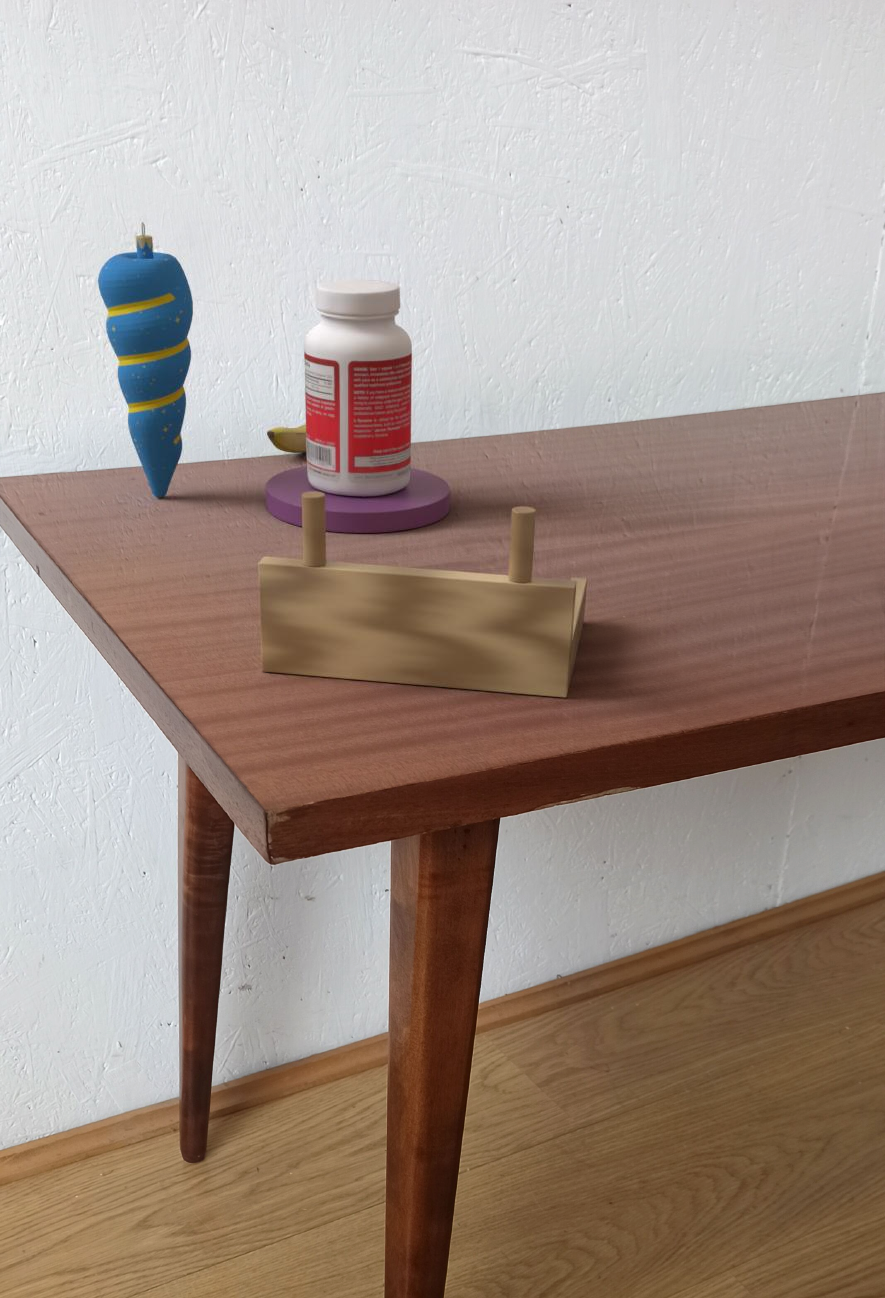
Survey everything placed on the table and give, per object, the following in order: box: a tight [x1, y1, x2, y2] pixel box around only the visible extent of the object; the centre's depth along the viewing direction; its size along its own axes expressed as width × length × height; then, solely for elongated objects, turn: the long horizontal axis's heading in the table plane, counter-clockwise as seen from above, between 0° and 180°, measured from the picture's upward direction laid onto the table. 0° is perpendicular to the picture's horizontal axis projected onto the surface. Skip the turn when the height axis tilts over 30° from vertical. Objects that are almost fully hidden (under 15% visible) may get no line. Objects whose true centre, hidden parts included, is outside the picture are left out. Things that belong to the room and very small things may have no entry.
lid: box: [265, 465, 451, 534], centre depth 91 cm, size 11×11×1 cm
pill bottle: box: [303, 279, 413, 497], centre depth 88 cm, size 6×6×11 cm
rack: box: [257, 491, 588, 699], centre depth 70 cm, size 14×10×8 cm
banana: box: [266, 423, 307, 454], centre depth 101 cm, size 8×2×4 cm, turn 153°
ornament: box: [97, 222, 194, 499], centre depth 88 cm, size 5×5×15 cm
